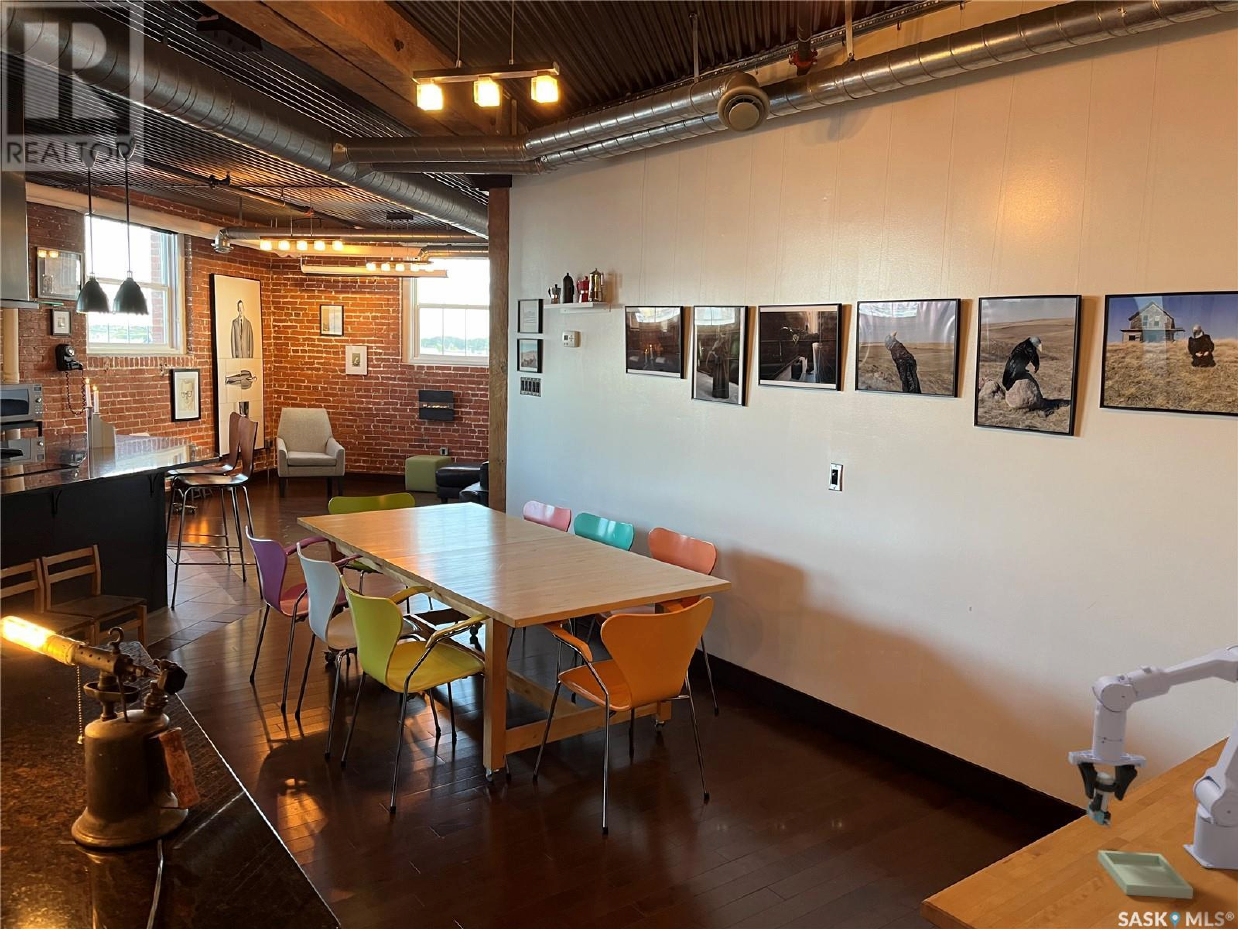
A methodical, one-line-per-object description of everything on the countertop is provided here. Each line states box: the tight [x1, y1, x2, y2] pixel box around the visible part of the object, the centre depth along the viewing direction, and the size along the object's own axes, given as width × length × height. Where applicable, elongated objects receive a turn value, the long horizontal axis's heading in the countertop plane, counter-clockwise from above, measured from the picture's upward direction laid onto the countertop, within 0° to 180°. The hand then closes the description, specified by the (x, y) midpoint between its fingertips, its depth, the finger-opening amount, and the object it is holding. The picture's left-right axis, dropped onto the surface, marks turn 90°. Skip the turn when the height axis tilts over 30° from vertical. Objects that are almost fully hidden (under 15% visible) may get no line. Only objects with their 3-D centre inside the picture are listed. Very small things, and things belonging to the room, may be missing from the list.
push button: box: [1085, 770, 1118, 829], centre depth 185 cm, size 7×5×10 cm
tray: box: [1097, 849, 1194, 900], centre depth 174 cm, size 12×12×2 cm
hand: (1103, 797), depth 185 cm, fingers closed on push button, 5 cm apart
